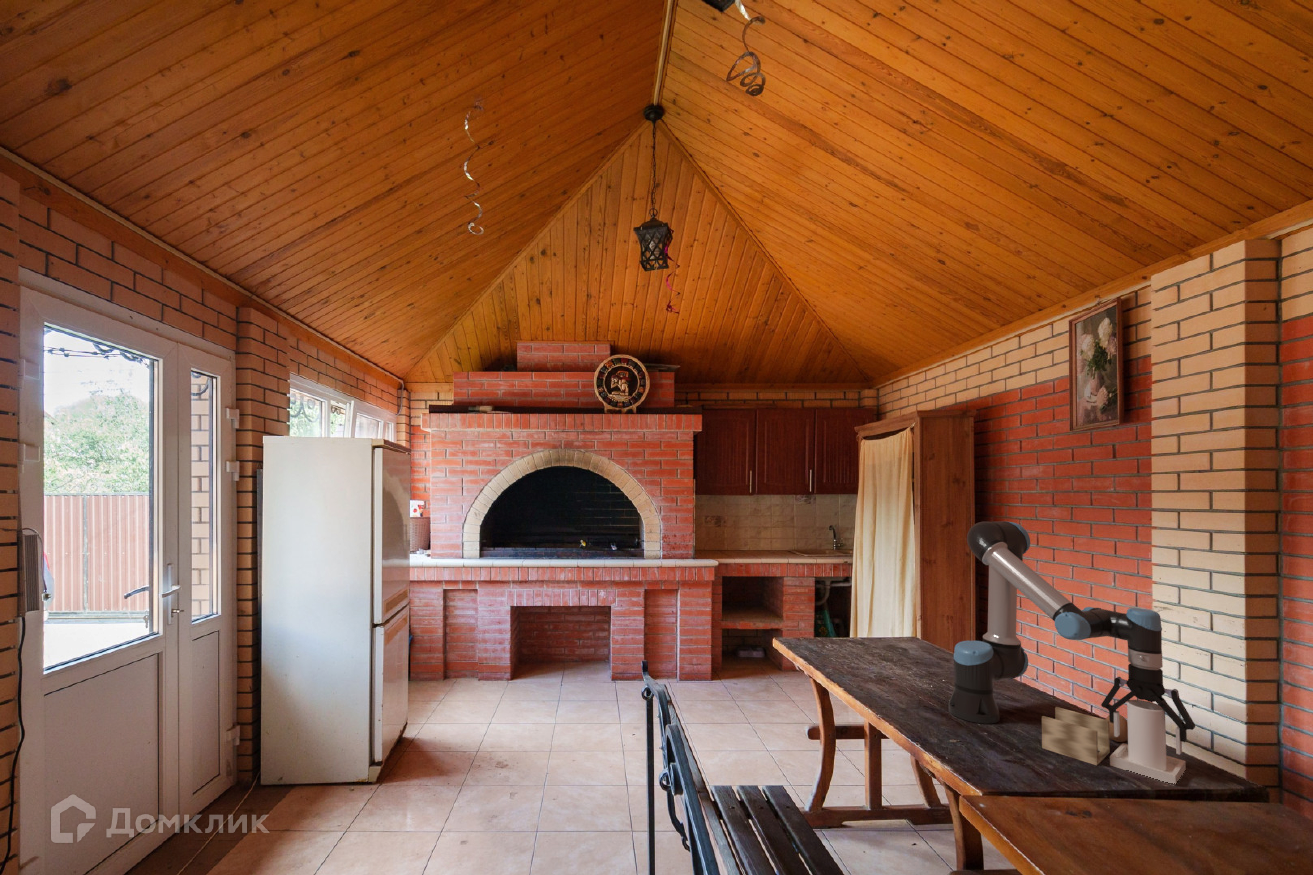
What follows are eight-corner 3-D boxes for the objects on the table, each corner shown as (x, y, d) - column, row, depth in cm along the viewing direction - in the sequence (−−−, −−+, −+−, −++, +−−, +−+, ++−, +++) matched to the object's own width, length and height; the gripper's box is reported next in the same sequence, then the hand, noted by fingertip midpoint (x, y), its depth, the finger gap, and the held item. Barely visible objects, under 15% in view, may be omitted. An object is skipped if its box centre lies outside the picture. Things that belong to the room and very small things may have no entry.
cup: (1173, 772, 161) (1172, 711, 163) (1139, 768, 163) (1137, 708, 164) (1155, 759, 170) (1153, 701, 171) (1122, 755, 171) (1120, 698, 172)
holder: (1042, 747, 177) (1041, 716, 178) (1056, 736, 186) (1056, 706, 186) (1096, 765, 167) (1096, 732, 167) (1109, 752, 175) (1109, 720, 176)
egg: (1125, 747, 179) (1124, 719, 180) (1100, 739, 185) (1099, 711, 185) (1134, 743, 182) (1133, 715, 183) (1109, 735, 188) (1109, 708, 189)
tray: (1110, 765, 167) (1109, 755, 167) (1122, 751, 176) (1122, 742, 176) (1175, 785, 156) (1175, 775, 157) (1185, 770, 165) (1185, 760, 166)
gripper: (1088, 657, 175) (1089, 731, 174) (1202, 680, 156) (1205, 764, 155) (1095, 652, 180) (1096, 725, 179) (1207, 675, 161) (1209, 756, 160)
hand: (1147, 743), depth 167 cm, fingers open, 13 cm apart
